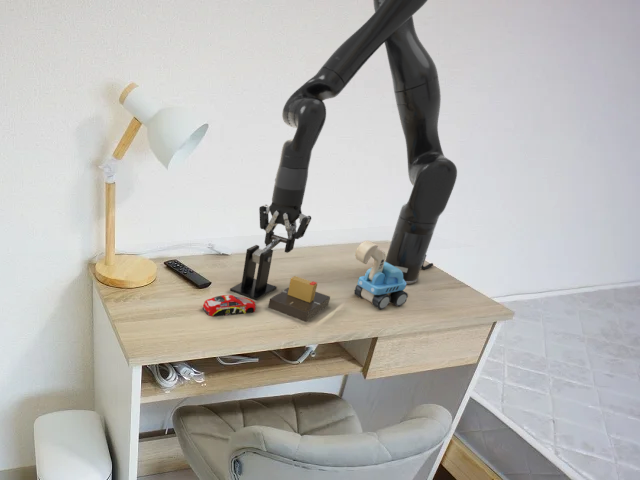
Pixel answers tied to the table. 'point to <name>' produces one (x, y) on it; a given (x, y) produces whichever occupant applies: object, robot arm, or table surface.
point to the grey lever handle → (268, 247)
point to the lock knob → (302, 289)
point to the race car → (228, 305)
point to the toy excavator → (379, 278)
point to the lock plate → (298, 305)
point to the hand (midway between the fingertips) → (277, 248)
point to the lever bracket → (257, 286)
